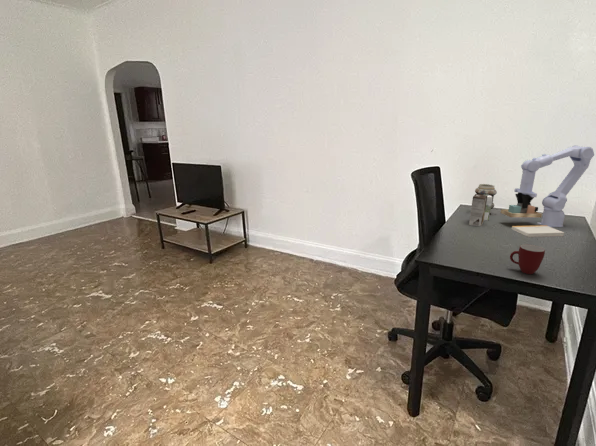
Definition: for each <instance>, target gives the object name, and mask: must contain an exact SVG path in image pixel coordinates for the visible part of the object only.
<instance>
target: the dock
mask: <svg viewBox="0 0 596 446" xmlns="http://www.w3.org/2000/svg"><path fill="white" fill-rule="evenodd" d="M511 230H513V231H515V232H517V233H519V234H520V235H523V236H525V237H526V238H537V237H538V238H549V237H550V238H551V237H553V238H555V237H564V235H565V232H564V231H561V230H558V229H556V228H555V227H549V226H547V225H540V224H539V225H512V226H511Z"/></svg>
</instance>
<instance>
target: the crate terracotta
mask: <svg viewBox="0 0 596 446" xmlns="http://www.w3.org/2000/svg"><path fill="white" fill-rule="evenodd" d="M535 207H536V206H534V205H532V204H531V205H528V208H527V213H534V211H535Z"/></svg>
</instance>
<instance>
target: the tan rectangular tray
mask: <svg viewBox="0 0 596 446" xmlns="http://www.w3.org/2000/svg"><path fill="white" fill-rule="evenodd" d="M516 205H518V206H520V207H521V211H520V213H510V212H508V210H509V209H505V208H504V209H500V214H502V215H504V216H507V217H509V218H542V216H543V213H541V212H538V211H536V212H535V211H534V213H527V208H528V207H527V208H525V209H523V208H522V205H523V203H518V202H517V204H516Z"/></svg>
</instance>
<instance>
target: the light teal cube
mask: <svg viewBox="0 0 596 446" xmlns="http://www.w3.org/2000/svg"><path fill="white" fill-rule="evenodd" d="M507 210H508V212H510V213H520V211H521V207H520V206H518V205H517V204H509V205H508V209H507Z"/></svg>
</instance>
